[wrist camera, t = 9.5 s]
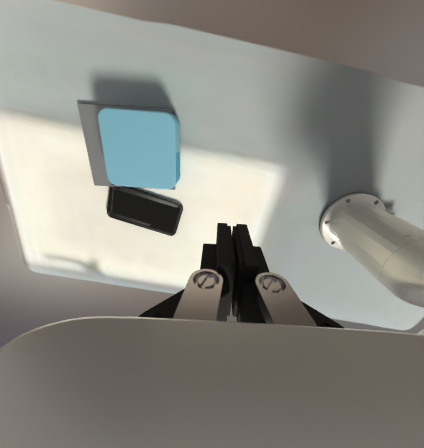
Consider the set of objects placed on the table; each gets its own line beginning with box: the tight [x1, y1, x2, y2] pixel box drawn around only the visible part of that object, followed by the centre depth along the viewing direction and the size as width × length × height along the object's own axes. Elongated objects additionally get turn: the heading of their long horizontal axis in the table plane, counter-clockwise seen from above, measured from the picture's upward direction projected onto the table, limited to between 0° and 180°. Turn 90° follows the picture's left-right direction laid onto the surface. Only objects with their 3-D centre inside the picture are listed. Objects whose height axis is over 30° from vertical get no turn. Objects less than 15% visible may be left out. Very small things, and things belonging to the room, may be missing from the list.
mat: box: [78, 104, 175, 190], centre depth 37 cm, size 16×14×1 cm
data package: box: [98, 108, 180, 189], centre depth 35 cm, size 12×4×12 cm
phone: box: [107, 184, 183, 236], centre depth 42 cm, size 8×1×15 cm
